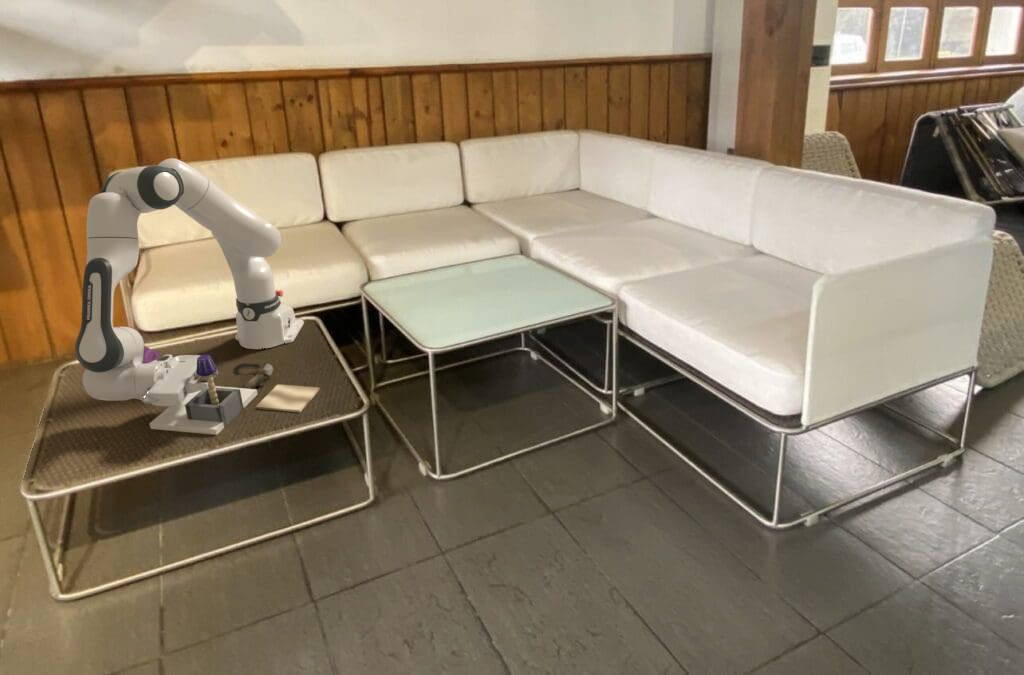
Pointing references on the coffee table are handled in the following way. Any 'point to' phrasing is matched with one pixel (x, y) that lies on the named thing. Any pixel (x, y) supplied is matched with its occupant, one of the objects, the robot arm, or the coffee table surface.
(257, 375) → the eagle figurine
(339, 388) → the coffee table surface
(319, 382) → the coffee table surface
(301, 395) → the birch pad
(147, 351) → the bracket
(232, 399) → the socket board
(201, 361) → the toy lamp
